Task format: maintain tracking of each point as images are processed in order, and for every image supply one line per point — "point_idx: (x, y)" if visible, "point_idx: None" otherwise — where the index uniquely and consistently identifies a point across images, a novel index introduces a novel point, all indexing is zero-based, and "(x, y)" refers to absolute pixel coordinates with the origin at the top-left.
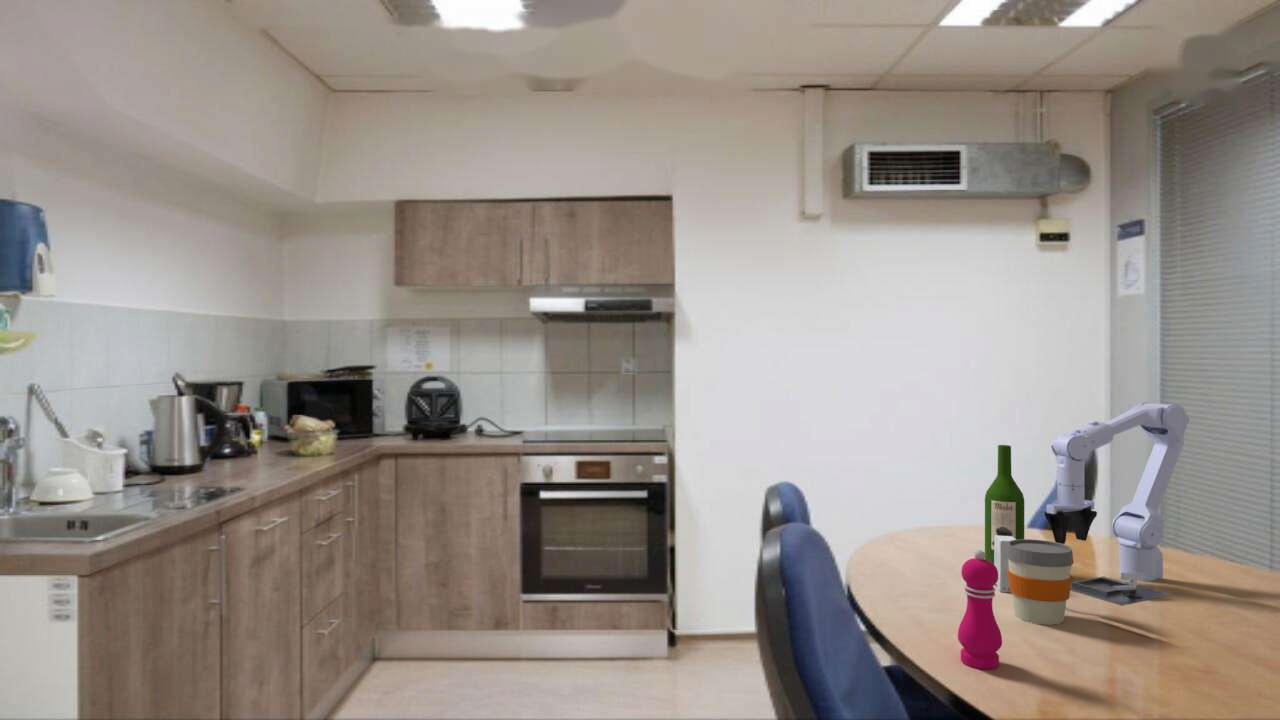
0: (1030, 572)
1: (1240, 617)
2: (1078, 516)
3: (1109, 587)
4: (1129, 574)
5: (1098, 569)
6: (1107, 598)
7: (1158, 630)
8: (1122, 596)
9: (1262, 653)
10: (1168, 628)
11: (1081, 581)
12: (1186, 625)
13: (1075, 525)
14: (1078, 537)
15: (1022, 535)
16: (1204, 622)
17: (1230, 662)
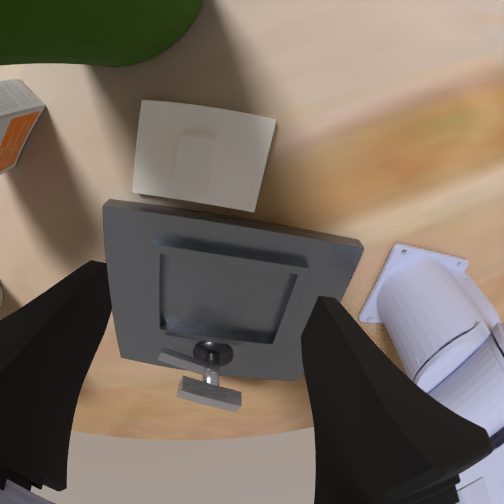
0: None
1: (272, 422)
2: (359, 460)
3: (238, 305)
4: (191, 399)
5: (476, 179)
6: (134, 332)
7: (100, 388)
8: (183, 344)
9: (146, 437)
10: (120, 394)
11: (189, 257)
12: (158, 404)
13: (353, 365)
14: (315, 317)
15: (12, 57)
16: (198, 412)
17: (92, 423)
